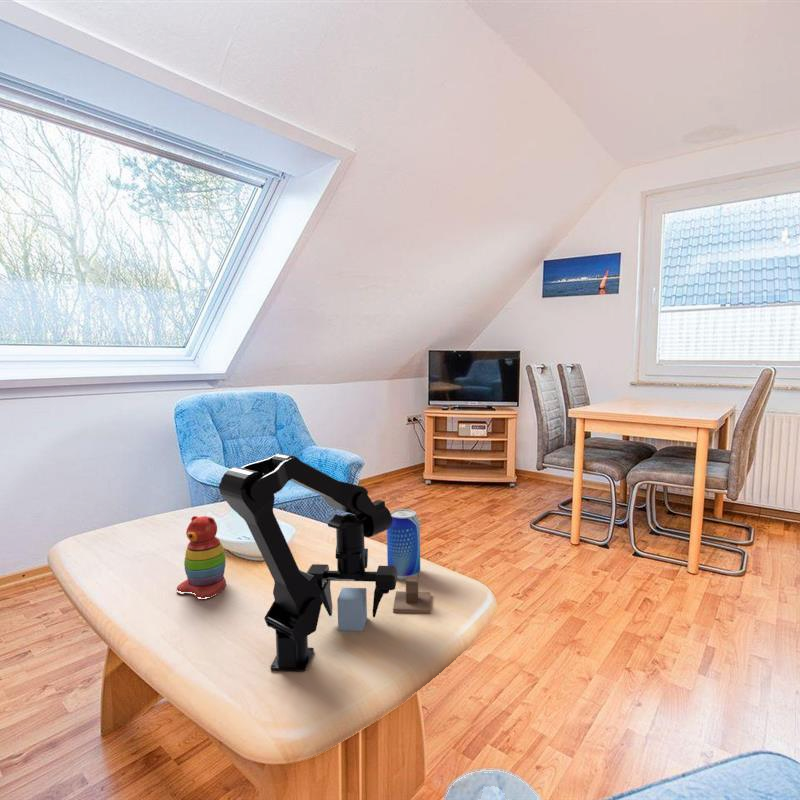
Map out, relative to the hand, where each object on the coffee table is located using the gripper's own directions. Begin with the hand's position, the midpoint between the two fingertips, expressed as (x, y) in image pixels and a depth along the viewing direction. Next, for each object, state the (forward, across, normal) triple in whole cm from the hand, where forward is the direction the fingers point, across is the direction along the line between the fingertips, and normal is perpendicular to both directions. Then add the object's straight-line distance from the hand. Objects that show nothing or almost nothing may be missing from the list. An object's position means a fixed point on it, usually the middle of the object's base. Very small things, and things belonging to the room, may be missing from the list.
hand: (352, 615), depth 104 cm
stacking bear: (+2, +39, -14) cm, 41 cm away
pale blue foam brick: (+2, 0, 0) cm, 2 cm away
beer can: (+2, -9, -24) cm, 26 cm away
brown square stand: (+2, -12, -9) cm, 15 cm away
